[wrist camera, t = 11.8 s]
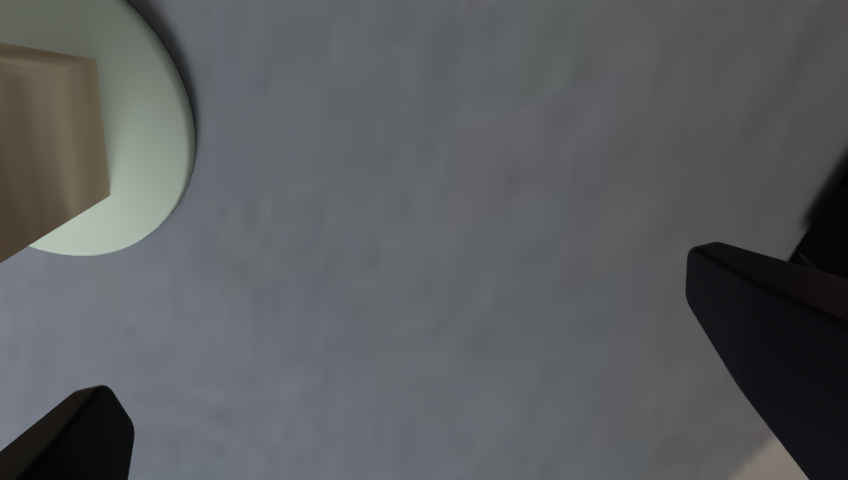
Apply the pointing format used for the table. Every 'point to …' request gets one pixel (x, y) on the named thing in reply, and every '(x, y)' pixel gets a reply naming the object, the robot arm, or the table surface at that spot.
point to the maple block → (47, 143)
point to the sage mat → (117, 116)
